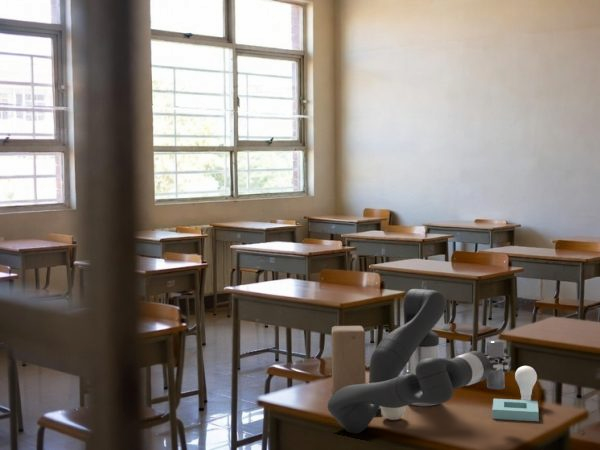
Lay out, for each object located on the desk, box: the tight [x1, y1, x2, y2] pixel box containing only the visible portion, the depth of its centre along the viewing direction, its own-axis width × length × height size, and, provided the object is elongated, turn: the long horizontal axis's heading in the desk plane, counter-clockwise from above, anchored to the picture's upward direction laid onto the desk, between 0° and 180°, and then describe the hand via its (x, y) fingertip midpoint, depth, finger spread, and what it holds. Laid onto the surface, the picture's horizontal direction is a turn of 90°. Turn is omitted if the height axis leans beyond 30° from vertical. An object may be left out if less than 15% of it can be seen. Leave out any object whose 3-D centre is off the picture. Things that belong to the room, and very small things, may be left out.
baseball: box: [380, 406, 407, 421], centre depth 216 cm, size 7×7×7 cm
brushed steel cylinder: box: [486, 339, 505, 390], centre depth 207 cm, size 4×4×12 cm
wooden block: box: [331, 325, 366, 395], centre depth 247 cm, size 10×10×20 cm
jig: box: [491, 398, 540, 422], centre depth 219 cm, size 12×12×2 cm
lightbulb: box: [514, 365, 538, 401], centre depth 230 cm, size 6×6×11 cm
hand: (500, 357), depth 209 cm, fingers closed on brushed steel cylinder, 4 cm apart
